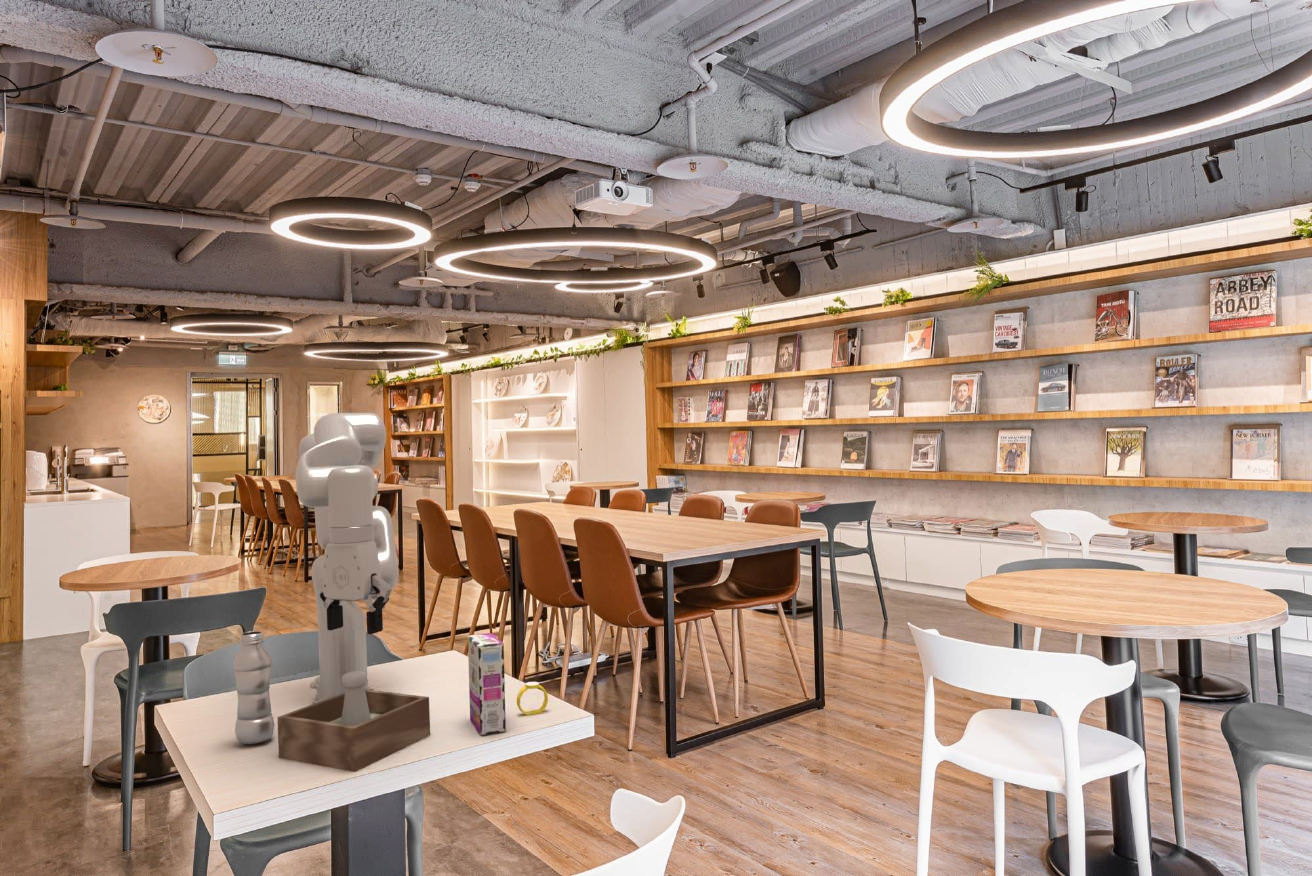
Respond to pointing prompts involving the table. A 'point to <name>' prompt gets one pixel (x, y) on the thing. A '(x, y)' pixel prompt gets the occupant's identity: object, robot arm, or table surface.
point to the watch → (532, 686)
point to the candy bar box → (486, 683)
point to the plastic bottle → (253, 690)
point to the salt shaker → (355, 699)
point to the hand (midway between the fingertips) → (354, 630)
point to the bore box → (353, 730)
